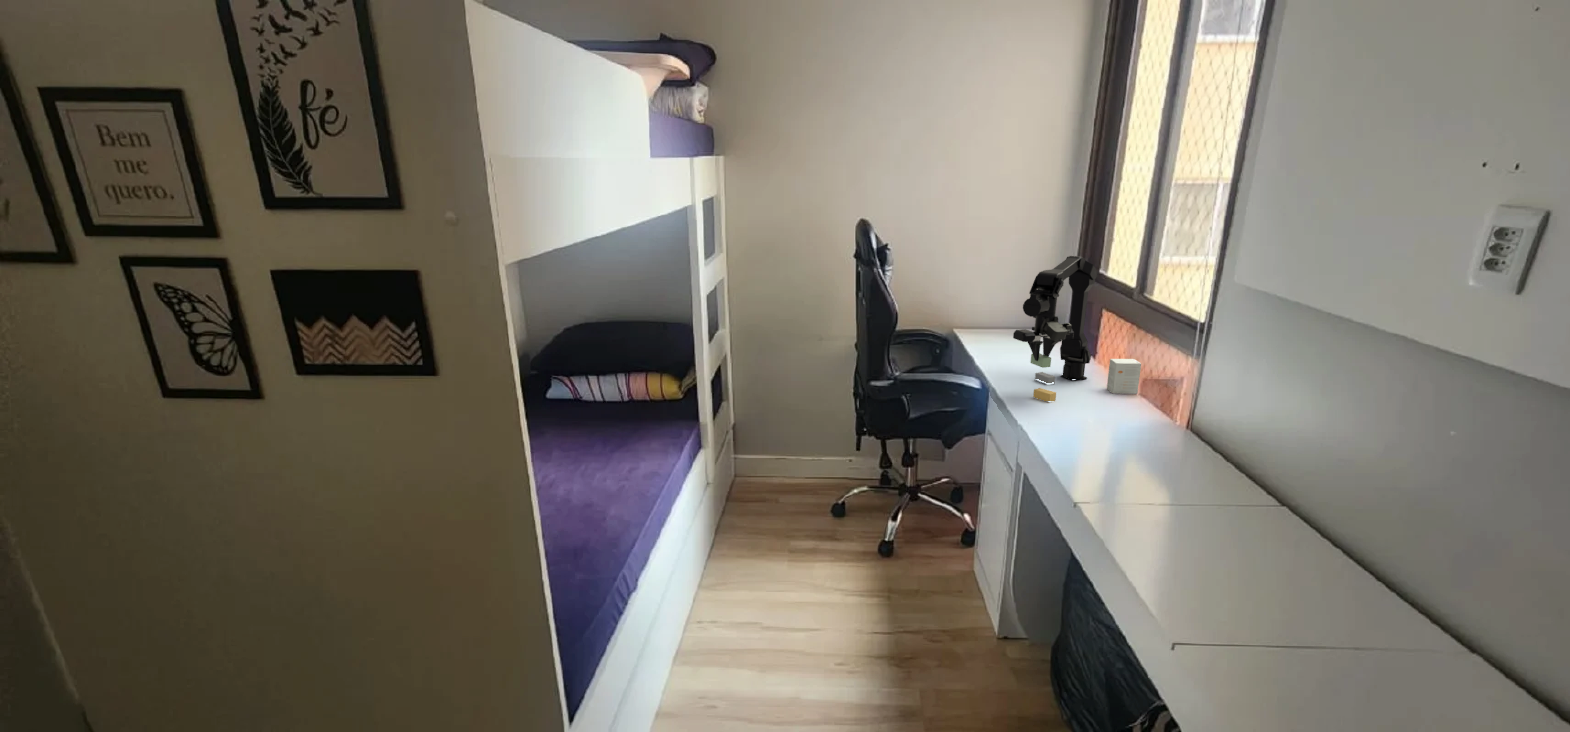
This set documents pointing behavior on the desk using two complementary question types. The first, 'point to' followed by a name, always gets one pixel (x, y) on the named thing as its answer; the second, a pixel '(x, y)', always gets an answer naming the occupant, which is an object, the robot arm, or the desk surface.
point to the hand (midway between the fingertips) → (1040, 360)
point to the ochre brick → (1044, 394)
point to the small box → (1123, 376)
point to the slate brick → (1045, 377)
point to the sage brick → (1041, 361)
